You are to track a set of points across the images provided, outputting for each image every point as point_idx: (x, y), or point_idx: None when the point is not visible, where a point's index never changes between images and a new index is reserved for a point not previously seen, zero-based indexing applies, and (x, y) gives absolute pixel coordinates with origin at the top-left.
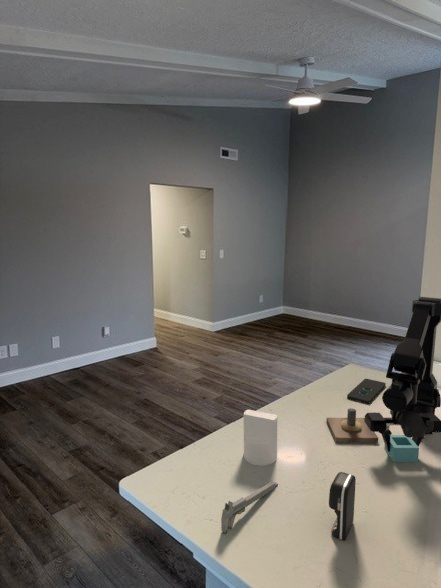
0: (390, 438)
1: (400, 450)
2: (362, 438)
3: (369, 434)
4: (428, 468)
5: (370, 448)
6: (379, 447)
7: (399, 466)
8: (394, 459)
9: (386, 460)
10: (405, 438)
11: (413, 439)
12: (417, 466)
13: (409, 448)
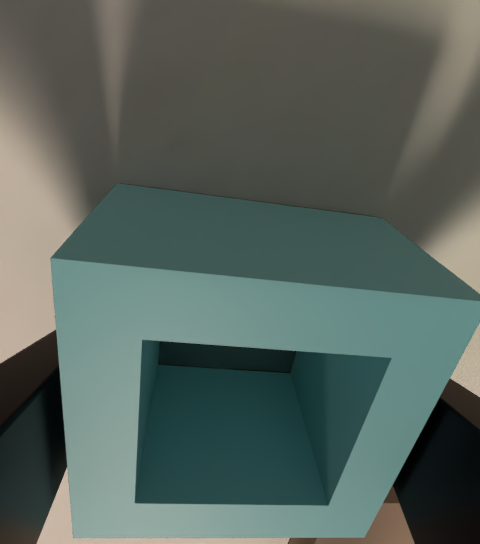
0: (355, 487)
1: (367, 269)
2: None
3: (369, 534)
4: (40, 25)
5: None
6: None
7: (376, 125)
8: (380, 225)
9: (428, 244)
10: (144, 487)
11: (51, 464)
12: (167, 94)
13: (235, 271)
